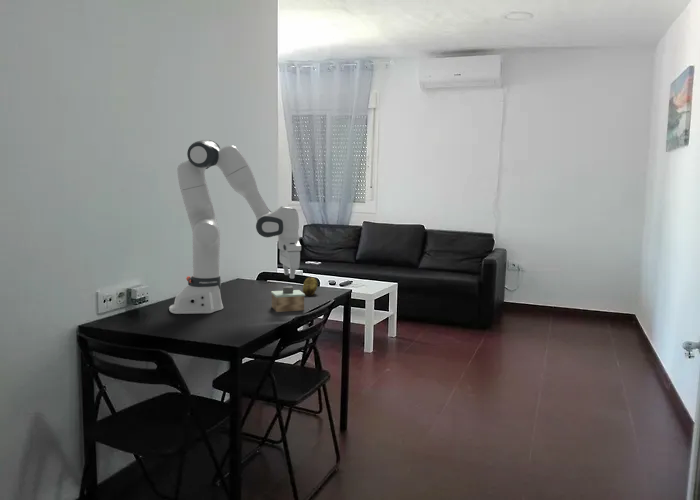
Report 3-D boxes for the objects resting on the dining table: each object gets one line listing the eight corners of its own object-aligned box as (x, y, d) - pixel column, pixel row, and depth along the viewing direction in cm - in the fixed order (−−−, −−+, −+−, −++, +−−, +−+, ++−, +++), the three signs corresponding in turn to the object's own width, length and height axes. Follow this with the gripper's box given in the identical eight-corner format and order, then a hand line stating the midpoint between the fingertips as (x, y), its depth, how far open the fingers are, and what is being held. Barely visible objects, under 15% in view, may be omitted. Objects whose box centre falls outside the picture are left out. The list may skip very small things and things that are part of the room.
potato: (296, 296, 283) (297, 279, 282) (306, 291, 295) (306, 275, 294) (313, 297, 281) (313, 281, 280) (322, 292, 293) (322, 277, 292)
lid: (276, 300, 246) (276, 289, 245) (271, 295, 255) (271, 285, 254) (305, 298, 250) (305, 288, 250) (298, 294, 259) (299, 284, 259)
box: (276, 313, 247) (276, 297, 246) (271, 308, 255) (271, 293, 254) (303, 311, 251) (304, 295, 250) (298, 307, 260) (298, 291, 259)
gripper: (275, 242, 258) (276, 272, 260) (287, 247, 239) (288, 281, 241) (289, 241, 260) (290, 272, 262) (302, 247, 241) (302, 280, 243)
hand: (289, 276), depth 251 cm, fingers open, 8 cm apart
